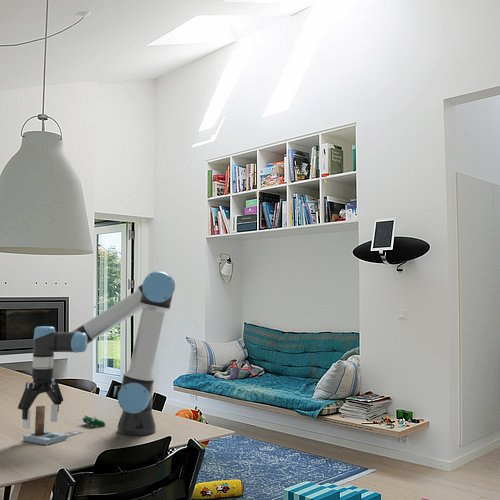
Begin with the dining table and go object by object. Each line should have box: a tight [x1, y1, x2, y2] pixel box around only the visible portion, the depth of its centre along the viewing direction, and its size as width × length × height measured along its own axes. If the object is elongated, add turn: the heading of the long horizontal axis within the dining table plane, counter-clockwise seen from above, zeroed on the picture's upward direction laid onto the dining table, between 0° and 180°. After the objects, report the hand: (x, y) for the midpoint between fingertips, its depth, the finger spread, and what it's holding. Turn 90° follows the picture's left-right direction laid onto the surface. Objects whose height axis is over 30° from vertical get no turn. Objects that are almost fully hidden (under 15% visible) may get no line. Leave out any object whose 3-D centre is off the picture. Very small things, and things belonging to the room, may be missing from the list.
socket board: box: [22, 430, 68, 446], centre depth 230 cm, size 12×10×2 cm
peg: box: [34, 405, 46, 436], centre depth 232 cm, size 3×3×12 cm
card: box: [64, 430, 84, 438], centre depth 240 cm, size 5×10×1 cm, turn 152°
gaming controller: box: [82, 414, 106, 427], centre depth 256 cm, size 9×4×6 cm
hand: (40, 424), depth 232 cm, fingers open, 13 cm apart
